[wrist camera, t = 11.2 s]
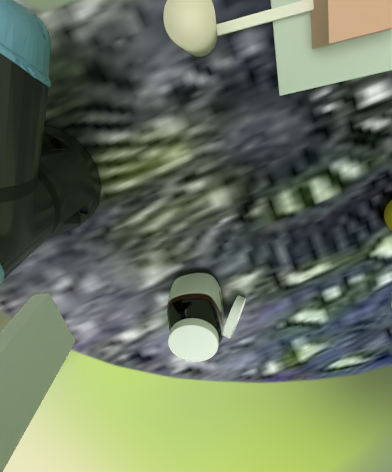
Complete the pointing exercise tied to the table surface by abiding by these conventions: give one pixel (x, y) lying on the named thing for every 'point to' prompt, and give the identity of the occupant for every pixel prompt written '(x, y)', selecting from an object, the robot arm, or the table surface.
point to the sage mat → (324, 54)
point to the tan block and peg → (322, 20)
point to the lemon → (388, 215)
